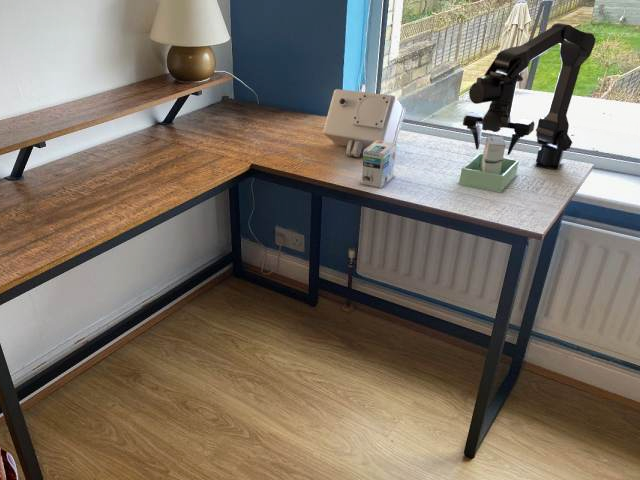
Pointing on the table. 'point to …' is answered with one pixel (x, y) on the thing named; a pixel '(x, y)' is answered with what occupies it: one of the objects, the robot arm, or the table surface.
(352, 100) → the junction box
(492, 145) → the ink box
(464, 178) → the open green storage box
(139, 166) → the table surface
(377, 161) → the light bulb box
